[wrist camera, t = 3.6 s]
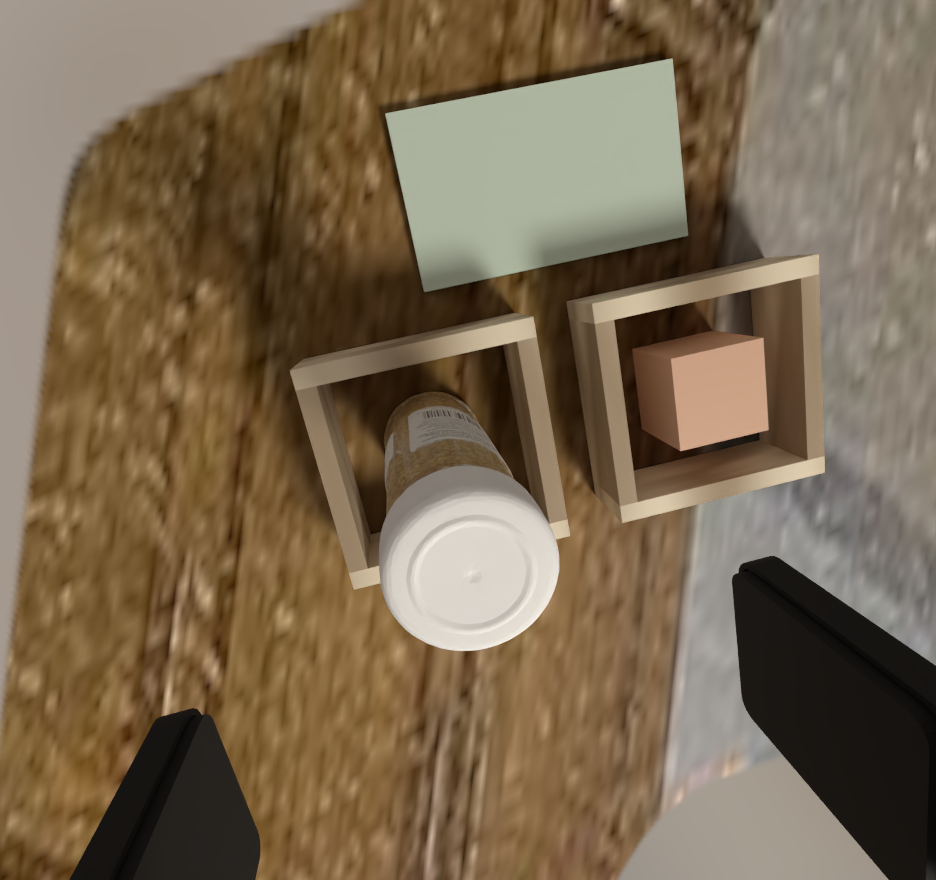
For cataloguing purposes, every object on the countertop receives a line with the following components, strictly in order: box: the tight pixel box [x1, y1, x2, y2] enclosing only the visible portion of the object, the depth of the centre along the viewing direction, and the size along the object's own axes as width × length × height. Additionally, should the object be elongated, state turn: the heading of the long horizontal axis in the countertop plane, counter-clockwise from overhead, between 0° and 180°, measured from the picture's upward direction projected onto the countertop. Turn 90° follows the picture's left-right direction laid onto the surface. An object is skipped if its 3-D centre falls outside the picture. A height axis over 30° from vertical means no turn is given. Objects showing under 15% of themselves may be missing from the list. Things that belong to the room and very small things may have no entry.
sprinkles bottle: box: [379, 392, 559, 651], centre depth 20 cm, size 5×5×13 cm
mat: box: [385, 58, 688, 292], centre depth 24 cm, size 12×7×1 cm, turn 102°
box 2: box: [566, 254, 825, 523], centre depth 26 cm, size 10×10×4 cm
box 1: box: [290, 313, 570, 590], centre depth 25 cm, size 10×10×4 cm
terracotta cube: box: [632, 331, 769, 451], centre depth 26 cm, size 4×4×4 cm
